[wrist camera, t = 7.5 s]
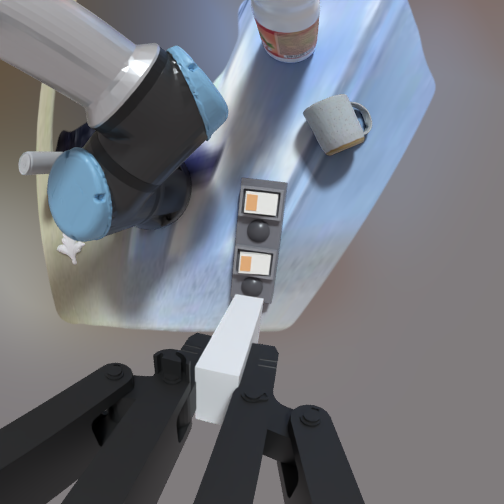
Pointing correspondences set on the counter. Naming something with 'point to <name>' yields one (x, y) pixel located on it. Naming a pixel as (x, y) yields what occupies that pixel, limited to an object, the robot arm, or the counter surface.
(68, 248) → the acanthus leaf ornament
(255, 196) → the rocker outlet
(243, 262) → the rocker outlet
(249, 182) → the power strip
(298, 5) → the fruit juice
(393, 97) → the counter surface
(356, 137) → the ceramic mug
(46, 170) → the beverage can
